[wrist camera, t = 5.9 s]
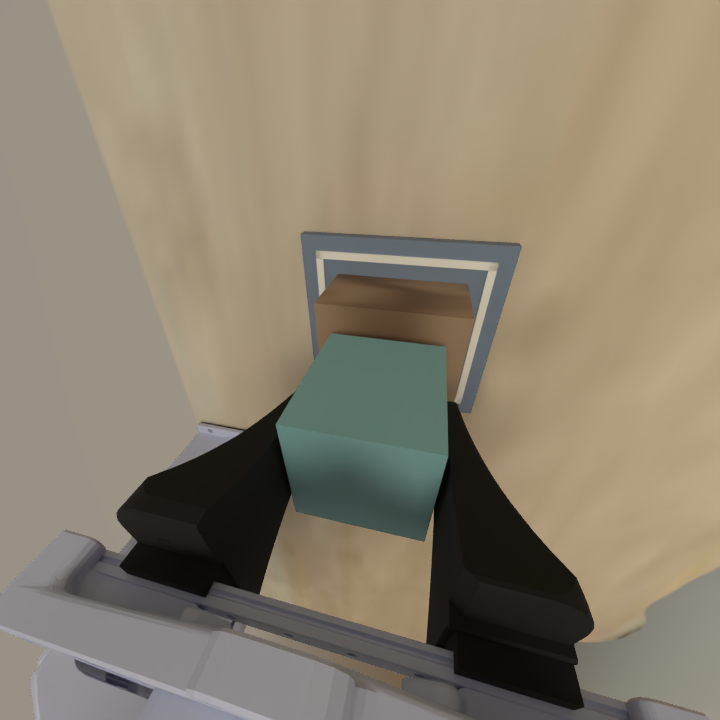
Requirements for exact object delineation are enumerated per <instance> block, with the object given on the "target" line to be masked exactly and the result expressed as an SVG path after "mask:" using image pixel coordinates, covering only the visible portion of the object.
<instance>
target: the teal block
mask: <svg viewBox="0 0 720 720" xmlns="http://www.w3.org/2000/svg"><path fill="white" fill-rule="evenodd" d="M276 429H277V433H278V437H279V441H280V446H281V450H282V454H283V458H284V463H285V467H286V471H287V475H288V479H289V484H290V488H291V492H292V496H293V501H294V505H295V509H296V512H300V513H304V514H308V515H313V516H317V517H321V518H326V519H330V520H334V521H338V522H343V523H347V524H351V525H355V526H360V527H364V528H368V529H372V530H377V531H381V532H385V533H389V534H394V535H398V536H402V537H406V538H411V539H415V540H419V541H423V542H424V541H425V538H426V534H427V530H428V527H429V523H430V520H431V516H432V513H433V509H434V505H435V502H436V498H437V495H438V491H439V488H440V484H441V480H442V477H443V473H444V470H445V466H446V463H447V459H448V415H447V367H446V347H442V346H434V345H426V344H417V343H409V342H400V341H392V340H383V339H375V338H366V337H358V336H350V335H341V334H333V333H331V334H330V335H329V337H328V338H327V340H326V342H325V343H324V345H323V347H322V348H321V350H320V352H319V353H318V355H317V357H316V358H315V360H314V362H313V363H312V365H311V367H310V368H309V370H308V372H307V373H306V375H305V377H304V378H303V380H302V382H301V383H300V385H299V387H298V388H297V390H296V391H295V393H294V395H293V396H292V398H291V400H290V401H289V403H288V405H287V406H286V408H285V410H284V411H283V413H282V415H281V416H280V418H279V420H278V421H277V423H276Z"/></svg>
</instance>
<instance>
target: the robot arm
mask: <svg viewBox="0 0 720 720" xmlns="http://www.w3.org/2000/svg"><path fill="white" fill-rule="evenodd" d="M294 393H295V392H294ZM294 393H293V394H292V395H291V396H290V397H288V398H287V399H286V400H285V401H284V402H282V403H281V404H280V405H279V406H278V407H276V408H275V409H274V410H273V411H271V412H270V413H269V414H267V415H266V416H265V417H263V418H262V419H261V420H259V421H258V422H257V423H255V424H254V425H252V426H251V427H250V428H248V429H247V430H245V431H242V430H236V429H231V428H226V427H220V426H215V425H210V424H205V423H199V424H198V425H197V429H198V431H199V433H198V434H197V435H196V436H195V438H194V439H193V440H192V441H191V442H190V443H189V445H188V446H187V447H186V448H185V449H184V450H183V452H182V453H181V454H180V455H179V456H178V457H177V459H176V460H175V461H174V462H173V463H172V465H171V466H170V467H169V468H168V469H167V470H165V471H163V472H160V473H158V474H155V475H153V476H150V477H148V478H147V479H146V480H145V481H144V482H143V483H142V484H141V485H140V486H139V487H138V489H137V490H136V491H135V492H134V493H133V494H132V495H131V496H130V497H129V499H128V500H127V501H126V502H125V503H124V504H123V505H122V506H121V507H120V508H119V510H118V512H117V518H118V521H119V522H120V523H121V525H122V526H123V527H124V528H125V529H126V530H127V531H128V532H129V533H130V534H131V535H132V538H131V539H130V540H129V541H128V543H127V544H126V545H125V546H124V548H123V549H122V550H121V551H120V553H115V552H112V551H109V550H106V548H105V547H104V545H102V544H101V543H100V542H99V541H97V540H95V539H93V538H91V537H88V536H85V535H82V534H78V533H75V532H71V531H68V530H65V531H62V532H61V533H60V534H59V535H58V536H57V537H56V538H55V539H54V540H53V541H52V542H51V543H50V544H49V545H48V546H47V547H46V548H45V549H44V550H43V551H42V552H41V553H40V554H39V555H38V556H37V557H36V558H35V559H34V560H33V561H32V562H31V563H30V564H29V565H28V566H27V567H26V568H25V569H24V571H22V572H21V573H20V574H19V576H17V578H15V580H14V581H12V582H11V583H10V585H9V586H7V587H6V588H5V590H3V592H1V593H0V630H2V631H4V632H7V633H10V634H12V635H14V636H17V637H19V638H21V639H24V640H26V641H29V642H31V643H34V644H37V645H39V646H42V647H44V648H46V649H45V651H44V652H43V653H42V655H41V656H40V657H39V658H38V660H37V665H38V667H37V669H36V670H35V671H34V673H33V674H32V676H31V694H32V701H33V708H34V715H35V720H710V719H709V718H708V717H707V716H706V715H705V714H703V713H700V712H697V711H694V710H690V709H686V708H683V707H680V706H676V705H673V704H669V703H666V702H662V701H658V700H654V699H650V698H643V697H637V698H631V699H629V700H628V701H627V702H623V701H620V700H616V699H613V698H609V697H606V696H603V695H599V694H596V693H592V692H589V691H586V690H582V689H580V687H579V683H578V679H577V675H576V671H575V667H574V665H577V664H578V659H577V655H576V651H575V648H574V644H575V643H577V642H578V641H580V640H582V639H583V638H585V637H586V636H588V635H589V634H590V633H591V632H592V631H593V629H594V621H593V618H592V615H591V612H590V609H589V606H588V603H587V601H586V598H585V596H584V594H583V591H582V589H581V587H580V585H579V582H578V580H577V578H576V577H575V576H574V575H573V574H572V573H571V571H570V570H569V569H568V568H567V567H566V566H565V565H564V564H563V563H562V562H561V561H560V560H559V559H558V558H557V557H556V556H555V555H554V554H553V553H552V552H551V551H550V550H549V548H548V547H547V546H546V545H545V544H544V543H543V542H542V540H541V539H540V538H539V537H538V536H537V535H536V534H535V532H534V531H533V530H532V529H531V528H530V526H529V525H528V524H527V523H526V521H525V520H524V519H523V518H522V516H521V515H520V514H519V513H518V511H517V510H516V509H515V508H514V506H513V505H512V504H511V502H510V501H509V500H508V498H507V497H506V495H505V494H504V493H503V491H502V490H501V488H500V487H499V485H498V484H497V482H496V481H495V479H494V478H493V476H492V475H491V473H490V471H489V470H488V468H487V467H486V465H485V463H484V461H483V460H482V458H481V456H480V454H479V452H478V450H477V449H476V447H475V445H474V443H473V441H472V439H471V437H470V434H469V432H468V430H467V428H466V426H465V423H464V421H463V418H462V416H461V413H460V410H459V407H458V404H457V403H456V402H451V401H447V415H448V459H447V463H446V466H445V470H444V473H443V477H442V480H441V484H440V488H439V491H438V495H437V498H436V502H435V505H434V528H433V548H432V567H431V583H430V599H429V613H428V627H427V640H426V643H422V642H419V641H415V640H412V639H409V638H405V637H402V636H398V635H395V634H392V633H388V632H385V631H381V630H378V629H374V628H371V627H368V626H364V625H361V624H357V623H354V622H351V621H347V620H344V619H340V618H337V617H334V616H330V615H327V614H323V613H320V612H317V611H313V610H310V609H306V608H303V607H300V606H296V605H293V604H289V603H286V602H283V601H279V600H276V599H272V598H269V597H265V596H262V595H259V594H260V590H261V586H262V583H263V579H264V576H265V573H266V569H267V566H268V562H269V559H270V556H271V552H272V549H273V546H274V543H275V540H276V537H277V534H278V530H279V527H280V525H281V522H282V519H283V516H284V513H285V510H286V507H287V504H288V501H289V499H290V496H291V493H292V492H291V488H290V484H289V479H288V475H287V471H286V467H285V463H284V458H283V454H282V450H281V446H280V441H279V437H278V433H277V429H276V423H277V421H278V420H279V418H280V416H281V415H282V413H283V411H284V410H285V408H286V406H287V405H288V403H289V401H290V400H291V398H292V396H293V395H294ZM246 625H248V626H251V627H254V628H257V629H261V630H264V631H267V632H270V633H274V634H276V635H280V636H283V637H286V638H289V639H292V640H295V641H299V642H302V643H305V644H308V645H311V646H315V647H318V648H321V649H324V650H327V651H330V652H333V653H337V654H340V655H343V656H346V657H349V658H353V659H356V660H359V661H362V662H365V663H368V664H371V665H375V666H378V667H381V668H384V669H387V670H391V671H394V672H397V673H400V674H403V675H406V676H409V677H405V678H404V679H403V680H402V689H400V688H397V687H395V686H392V685H390V684H387V683H385V682H382V681H380V680H377V679H375V678H372V677H370V676H367V675H364V674H362V673H360V672H357V671H354V670H352V669H349V668H347V667H344V666H341V665H339V664H336V663H334V662H331V661H328V660H326V659H323V658H321V657H318V656H315V655H312V654H309V653H306V652H303V651H300V650H296V649H293V648H290V647H287V646H284V645H281V644H278V643H275V642H272V641H268V640H265V639H262V638H259V637H256V636H253V635H250V634H247V633H244V630H245V627H246ZM410 677H413V678H410Z"/></svg>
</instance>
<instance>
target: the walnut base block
mask: <svg viewBox="0 0 720 720" xmlns="http://www.w3.org/2000/svg"><path fill="white" fill-rule="evenodd" d="M314 311H315V321H316V332H317V342H318V353H319V352H320V350H321V348H322V347H323V345H324V343H325V342H326V340H327V338H328V337H329V335H330V334H331V333H333V334H341V335H350V336H358V337H366V338H375V339H383V340H392V341H400V342H409V343H417V344H426V345H434V346H442V347H446V367H447V401H451V402H454V400H455V396H456V392H457V388H458V384H459V380H460V376H461V372H462V368H463V364H464V360H465V356H466V352H467V349H468V345H469V341H470V337H471V333H472V329H473V325H474V321H475V317H474V312H473V307H472V302H471V297H470V292H469V286H468V284H460V283H447V282H435V281H422V280H410V279H398V278H385V277H373V276H360V275H348V274H338V275H337V276H336V277H335V278H334V279H333V281H332V282H331V283H330V284H329V285H328V287H327V288H326V289H325V290H324V292H323V293H322V294H321V295H320V296H319V298H318V299H317V300H316V301H315V302H314Z"/></svg>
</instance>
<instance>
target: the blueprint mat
mask: <svg viewBox="0 0 720 720" xmlns="http://www.w3.org/2000/svg"><path fill="white" fill-rule="evenodd" d="M301 242H302V251H303V261H304V270H305V279H306V289H307V298H308V307H309V316H310V326H311V335H312V344H313V354H314V360H315V358H316V357H317V355H318V342H317V332H316V321H315V311H314V302H315V301H316V300H317V299H318V298H319V296H320V295H321V294H322V293H323V292H324V290H325V289H326V288H327V287H328V285H329V284H330V283H331V282H332V281H333V279H334V278H335V277H336V276H337V275H338V274H348V275H360V276H373V277H385V278H398V279H410V280H422V281H435V282H447V283H460V284H468V286H469V292H470V297H471V302H472V307H473V312H474V317H475V321H474V325H473V329H472V333H471V337H470V341H469V345H468V349H467V352H466V356H465V360H464V364H463V368H462V372H461V376H460V380H459V384H458V388H457V392H456V396H455V400H454V402H456V403H457V404H458V407H459V410H460V412H464V413H471V410H472V406H473V403H474V400H475V397H476V393H477V390H478V387H479V384H480V380H481V377H482V374H483V371H484V367H485V364H486V361H487V358H488V354H489V351H490V348H491V345H492V341H493V338H494V335H495V332H496V328H497V325H498V322H499V319H500V315H501V312H502V309H503V306H504V302H505V299H506V296H507V293H508V289H509V286H510V283H511V280H512V276H513V273H514V270H515V267H516V263H517V260H518V257H519V254H520V250H521V247H522V246H521V245H520V244H519V243H503V242H485V241H467V240H449V239H431V238H413V237H395V236H377V235H359V234H341V233H323V232H303V233H301Z"/></svg>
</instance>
